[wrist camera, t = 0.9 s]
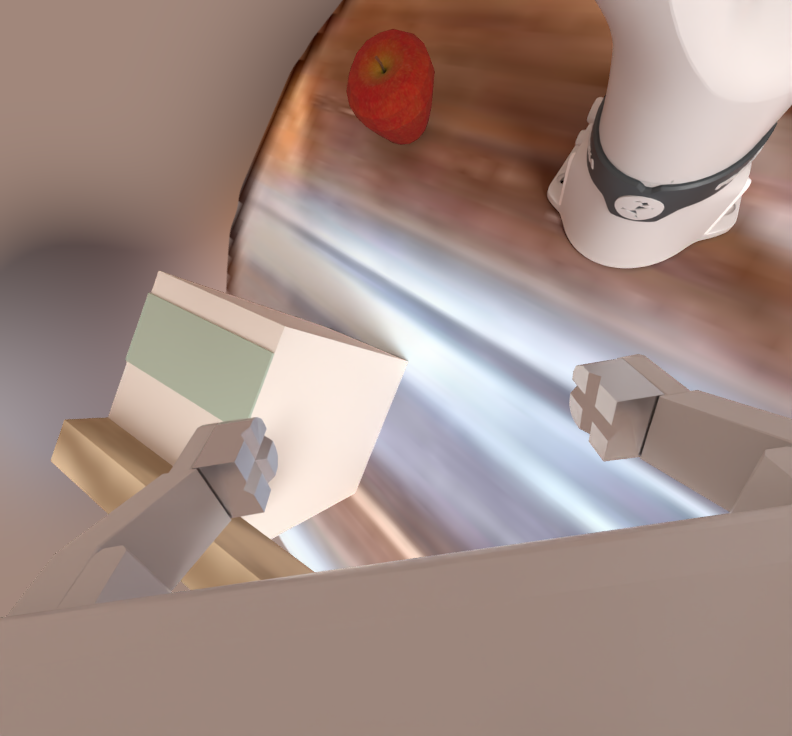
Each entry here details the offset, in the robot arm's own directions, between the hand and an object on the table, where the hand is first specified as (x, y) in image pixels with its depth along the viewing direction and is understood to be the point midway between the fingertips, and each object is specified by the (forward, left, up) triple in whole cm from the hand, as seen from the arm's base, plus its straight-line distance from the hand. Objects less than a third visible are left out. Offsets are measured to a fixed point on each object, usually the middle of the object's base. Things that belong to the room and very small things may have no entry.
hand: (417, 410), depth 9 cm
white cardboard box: (+10, -21, -37) cm, 43 cm away
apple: (-31, -27, -37) cm, 55 cm away
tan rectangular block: (+15, -16, -11) cm, 24 cm away
